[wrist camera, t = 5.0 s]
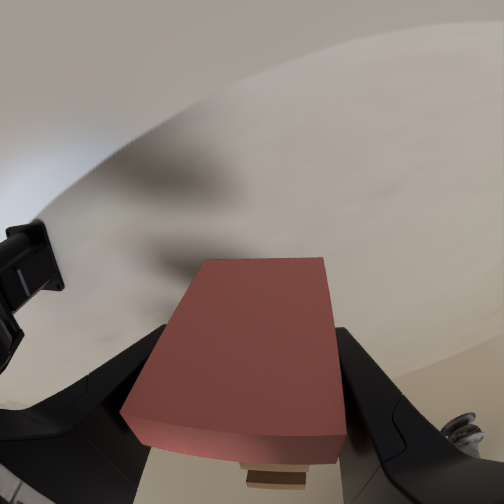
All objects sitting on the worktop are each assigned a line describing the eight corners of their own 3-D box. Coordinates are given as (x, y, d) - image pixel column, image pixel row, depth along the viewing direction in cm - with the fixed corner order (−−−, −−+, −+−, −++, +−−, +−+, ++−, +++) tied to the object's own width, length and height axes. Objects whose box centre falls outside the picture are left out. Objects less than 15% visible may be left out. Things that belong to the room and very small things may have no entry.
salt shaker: (431, 431, 26) (447, 511, 15) (470, 406, 24) (495, 486, 13) (447, 439, 27) (462, 509, 16) (482, 416, 24) (503, 487, 14)
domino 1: (321, 290, 13) (336, 463, 5) (210, 291, 13) (142, 444, 6) (323, 257, 12) (346, 434, 5) (205, 259, 13) (119, 412, 6)
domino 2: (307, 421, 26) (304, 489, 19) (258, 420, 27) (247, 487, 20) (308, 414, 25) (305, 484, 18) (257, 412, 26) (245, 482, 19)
